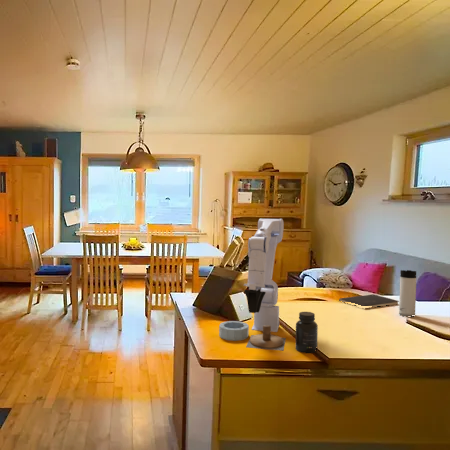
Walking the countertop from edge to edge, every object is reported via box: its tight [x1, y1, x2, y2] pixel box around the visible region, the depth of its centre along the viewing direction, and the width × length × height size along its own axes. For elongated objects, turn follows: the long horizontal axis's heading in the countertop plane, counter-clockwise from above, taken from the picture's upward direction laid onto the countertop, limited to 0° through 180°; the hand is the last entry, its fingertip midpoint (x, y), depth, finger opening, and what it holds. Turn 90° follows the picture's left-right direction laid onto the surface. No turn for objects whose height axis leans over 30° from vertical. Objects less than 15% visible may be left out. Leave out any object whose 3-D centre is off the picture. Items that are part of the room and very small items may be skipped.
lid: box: [249, 325, 283, 348], centre depth 125 cm, size 11×11×6 cm
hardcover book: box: [338, 294, 399, 308], centre depth 183 cm, size 16×23×2 cm
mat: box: [245, 334, 287, 352], centre depth 125 cm, size 12×12×1 cm
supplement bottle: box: [295, 311, 319, 354], centre depth 119 cm, size 7×7×12 cm
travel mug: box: [398, 269, 417, 317], centre depth 161 cm, size 6×7×20 cm
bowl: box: [218, 320, 250, 342], centre depth 132 cm, size 10×10×4 cm
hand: (254, 312), depth 124 cm, fingers open, 7 cm apart
